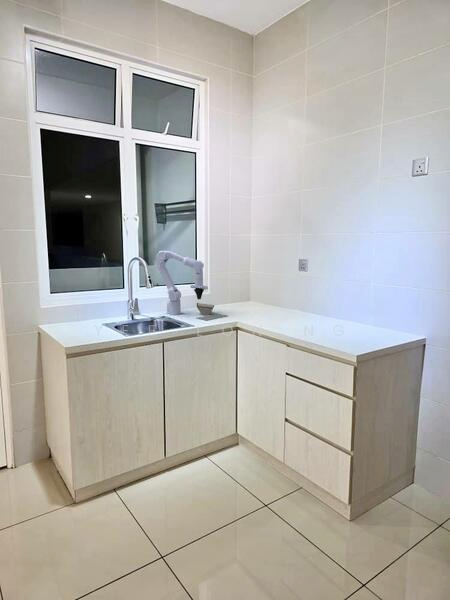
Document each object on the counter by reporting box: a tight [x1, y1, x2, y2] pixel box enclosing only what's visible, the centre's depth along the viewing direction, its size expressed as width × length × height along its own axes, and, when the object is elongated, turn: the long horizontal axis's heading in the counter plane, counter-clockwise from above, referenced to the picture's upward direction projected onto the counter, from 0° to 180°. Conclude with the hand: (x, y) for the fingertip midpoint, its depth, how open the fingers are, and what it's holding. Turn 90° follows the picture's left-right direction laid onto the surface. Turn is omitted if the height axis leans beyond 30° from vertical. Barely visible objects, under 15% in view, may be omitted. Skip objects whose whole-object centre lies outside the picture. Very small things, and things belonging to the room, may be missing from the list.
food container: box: [196, 302, 215, 316], centre depth 268 cm, size 12×6×10 cm
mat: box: [195, 313, 229, 321], centre depth 256 cm, size 10×20×1 cm, turn 136°
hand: (199, 299), depth 265 cm, fingers closed
